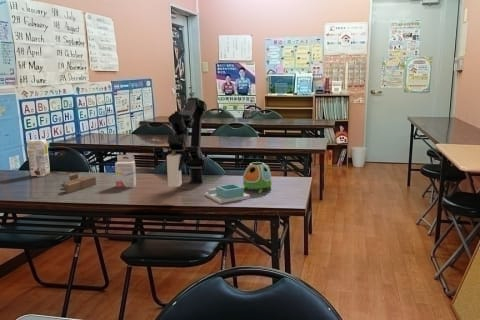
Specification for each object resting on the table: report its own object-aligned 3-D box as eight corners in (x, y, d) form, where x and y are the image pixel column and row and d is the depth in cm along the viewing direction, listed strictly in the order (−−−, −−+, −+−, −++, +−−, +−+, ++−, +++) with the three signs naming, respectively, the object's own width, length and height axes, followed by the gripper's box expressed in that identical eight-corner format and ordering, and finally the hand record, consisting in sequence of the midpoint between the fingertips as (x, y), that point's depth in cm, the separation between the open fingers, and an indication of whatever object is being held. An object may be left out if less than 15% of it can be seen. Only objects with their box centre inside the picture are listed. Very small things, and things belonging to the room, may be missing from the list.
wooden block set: (97, 173, 208) (67, 182, 193) (98, 185, 210) (68, 194, 194) (71, 170, 216) (40, 178, 200) (72, 182, 217) (41, 190, 201)
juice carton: (45, 176, 228) (41, 140, 224) (29, 177, 228) (25, 141, 224) (51, 173, 235) (48, 138, 231) (36, 173, 235) (32, 139, 232)
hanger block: (171, 183, 179) (169, 150, 177) (181, 184, 179) (180, 150, 176) (168, 186, 175) (166, 151, 172) (178, 186, 175) (177, 152, 172)
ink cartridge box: (115, 187, 202) (113, 156, 199) (118, 185, 207) (116, 154, 204) (134, 187, 202) (132, 156, 200) (136, 184, 207) (134, 154, 204)
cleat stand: (205, 195, 187) (204, 184, 186) (233, 190, 193) (233, 180, 193) (220, 203, 175) (219, 191, 174) (250, 197, 182) (249, 187, 181)
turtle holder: (280, 185, 202) (280, 160, 199) (262, 194, 186) (262, 167, 184) (256, 182, 208) (256, 158, 205) (237, 191, 192) (237, 165, 190)
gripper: (153, 126, 178) (145, 158, 169) (197, 126, 175) (191, 159, 166) (160, 142, 187) (153, 173, 178) (203, 143, 184) (197, 174, 176)
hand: (173, 170), depth 174 cm, fingers closed on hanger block, 4 cm apart
